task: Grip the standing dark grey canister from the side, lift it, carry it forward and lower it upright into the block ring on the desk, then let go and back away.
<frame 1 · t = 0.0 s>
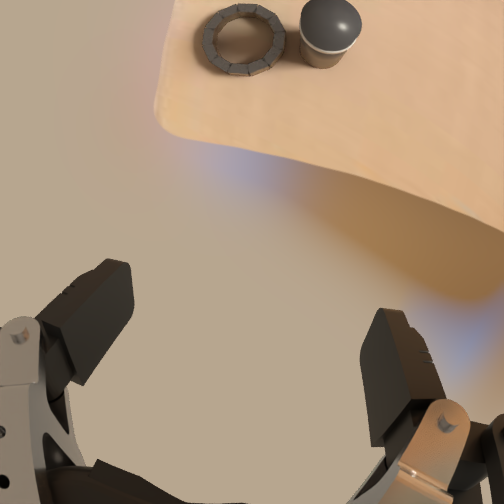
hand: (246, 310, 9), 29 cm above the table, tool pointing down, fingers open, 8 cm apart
dark grey canister: (320, 49, 28), on the table
block ring: (245, 41, 29), on the table
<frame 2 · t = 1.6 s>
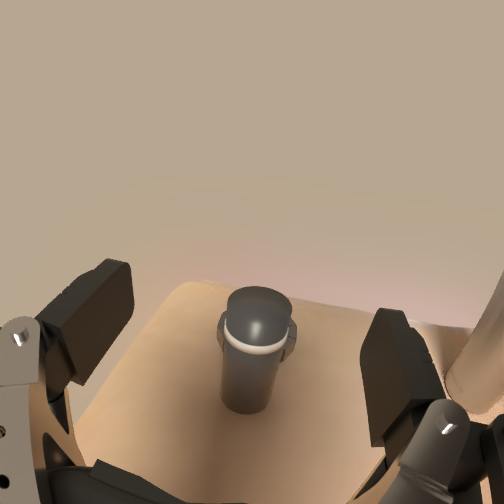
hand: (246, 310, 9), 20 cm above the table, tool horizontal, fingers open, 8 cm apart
dark grey canister: (245, 394, 28), on the table
block ring: (256, 338, 36), on the table
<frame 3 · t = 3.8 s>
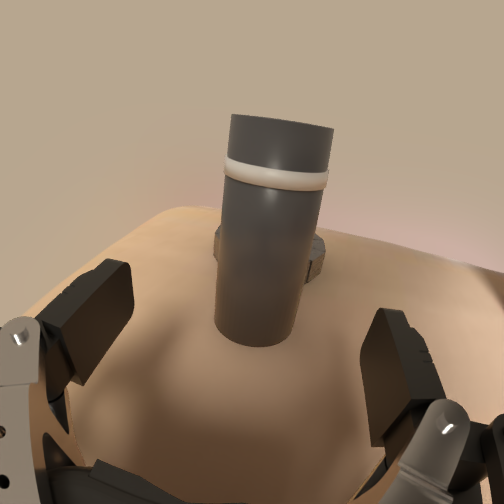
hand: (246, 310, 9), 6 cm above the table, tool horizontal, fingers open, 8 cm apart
dark grey canister: (253, 319, 19), on the table
block ring: (268, 256, 27), on the table
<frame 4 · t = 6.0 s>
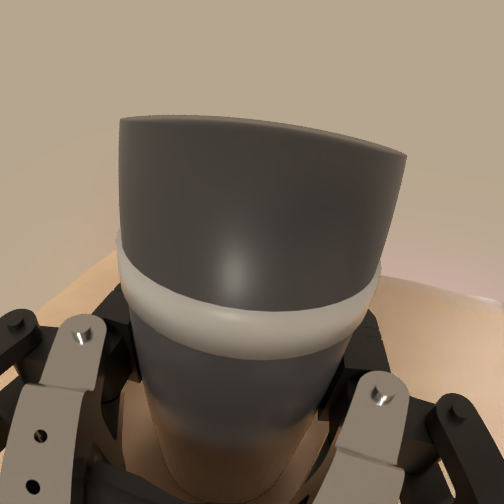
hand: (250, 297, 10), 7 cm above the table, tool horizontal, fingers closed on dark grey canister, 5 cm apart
dark grey canister: (224, 453, 10), on the table, touching gripper
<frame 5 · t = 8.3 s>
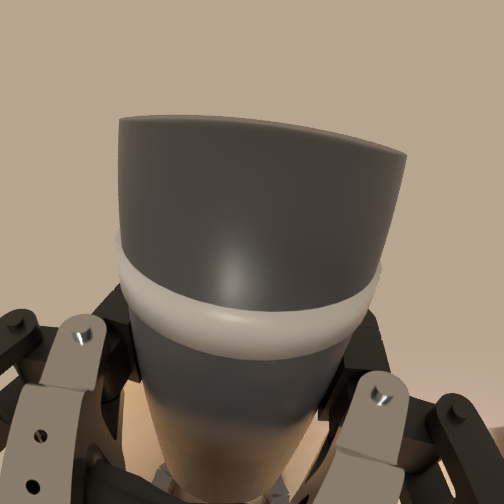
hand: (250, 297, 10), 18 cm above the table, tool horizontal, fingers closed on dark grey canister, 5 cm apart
dark grey canister: (224, 453, 10), point 11 cm above the table, touching gripper
when the fingers open (8 cm above the table, at t = 10.6 s): dark grey canister drops 1 cm, resting in block ring.
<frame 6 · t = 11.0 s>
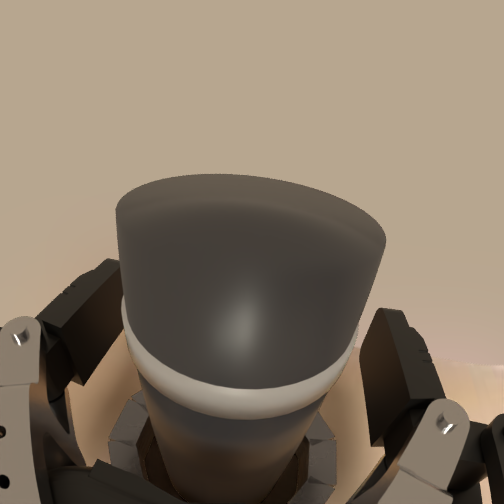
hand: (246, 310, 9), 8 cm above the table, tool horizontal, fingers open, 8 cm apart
dark grey canister: (222, 467, 11), resting in block ring
block ring: (222, 465, 11), on the table
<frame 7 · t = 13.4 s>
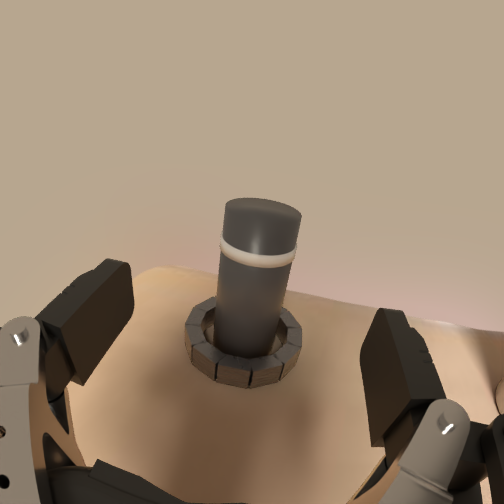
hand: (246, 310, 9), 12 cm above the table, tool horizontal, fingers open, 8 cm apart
dark grey canister: (242, 345, 25), resting in block ring
block ring: (242, 344, 25), on the table
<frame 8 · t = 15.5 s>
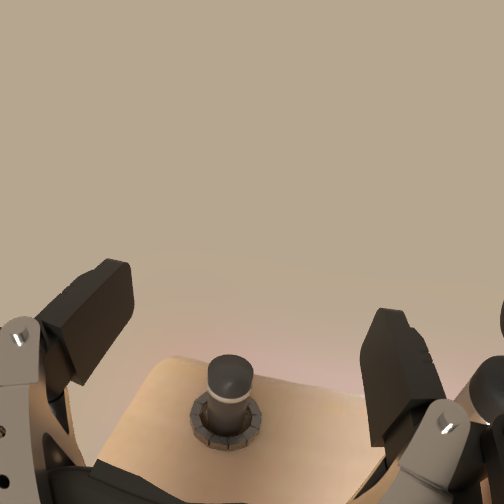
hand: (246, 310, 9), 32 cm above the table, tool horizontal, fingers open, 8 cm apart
dark grey canister: (225, 422, 36), resting in block ring
block ring: (225, 422, 37), on the table
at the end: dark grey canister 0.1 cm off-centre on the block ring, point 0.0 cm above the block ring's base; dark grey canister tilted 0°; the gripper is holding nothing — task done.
